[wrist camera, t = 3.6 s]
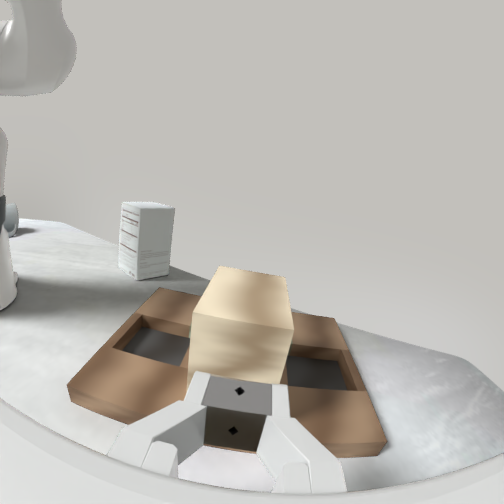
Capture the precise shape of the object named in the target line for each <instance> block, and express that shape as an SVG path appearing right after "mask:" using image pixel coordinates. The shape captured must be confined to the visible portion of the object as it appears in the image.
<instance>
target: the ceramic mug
mask: <svg viewBox="0 0 504 504" xmlns="http://www.w3.org/2000/svg"><path fill="white" fill-rule="evenodd" d="M18 223H19V218H18V210H17V206H16V204H15V203H11V204H7V205H6V220H5V221H4V223H3V226H4V228H5V229H6V231H7V232H8V237H12V236H13V235H15V233H16V231H17V229H18Z"/></svg>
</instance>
